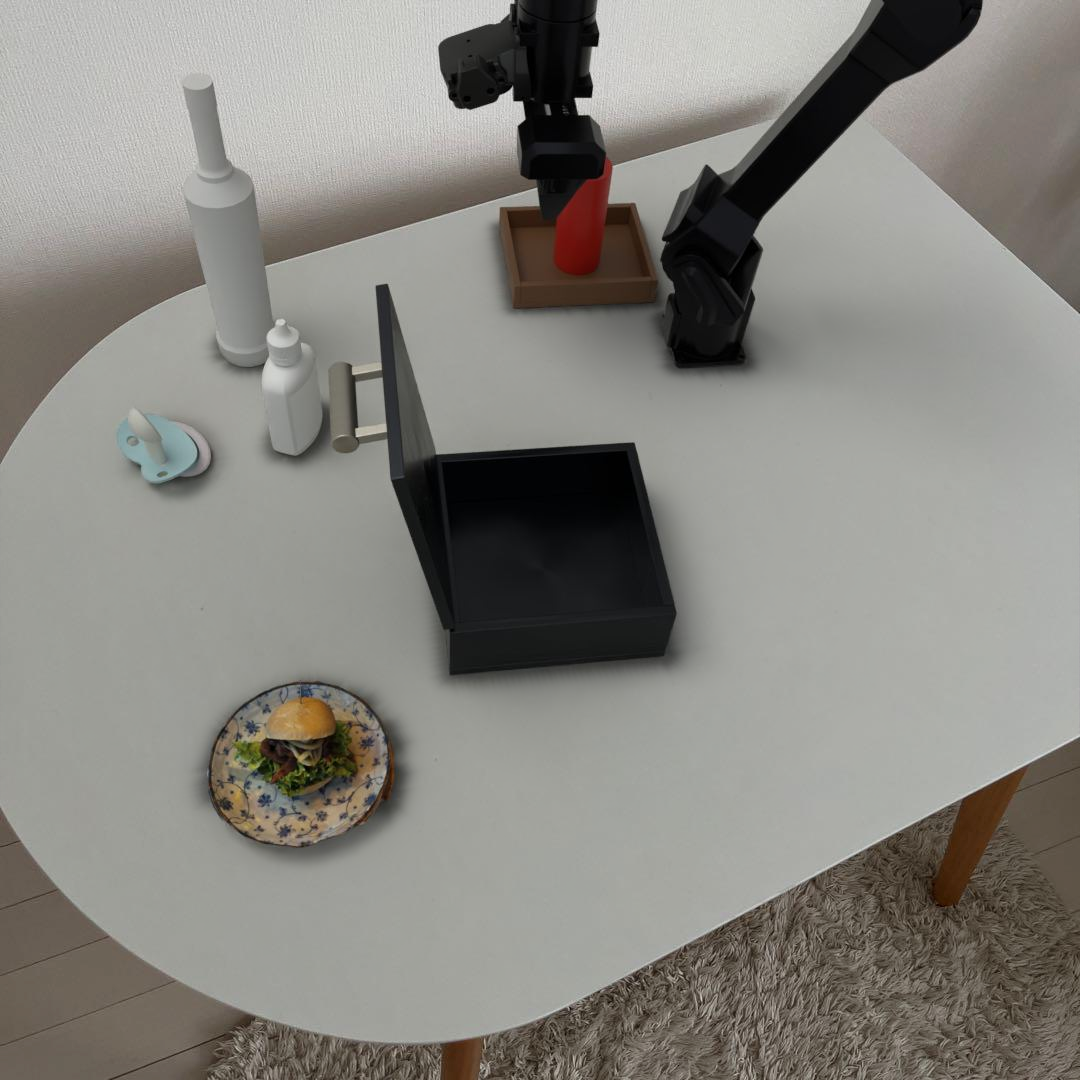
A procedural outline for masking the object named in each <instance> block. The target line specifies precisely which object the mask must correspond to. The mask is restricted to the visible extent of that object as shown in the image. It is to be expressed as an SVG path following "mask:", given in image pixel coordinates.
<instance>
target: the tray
mask: <svg viewBox="0 0 1080 1080" xmlns="http://www.w3.org/2000/svg"><path fill="white" fill-rule="evenodd" d="M556 223H557V218H556V220H555V221H542V219H541V213H540V206H539V205H529V206H526V205H525V206H500V207H499V217H498V233H499V239H500V244H501V249H502V254H503V259H504V265H505V270H506V277H507V281H508V287H509V294H510V298H511V304H512V308H513V309H525V308H526V309H528V308H547V307H548V308H549V307H551V308H552V307H571V306H593V305H614V304H636V303H637V304H638V303H654V302H655V300H656V294H657V289H658V285H659V278H658V275H657V271H656V268H655V265H654V262H653V261H654V260H653V258H652V255H651V250H650V248H649V244H648V241H647V238H646V234H645V231H644V228H643V224H642V221H641V218H640V214H639V210H638V207H637V204H636V202H623V203H621V202H619V203H608V206H607V213H606V220H605V227H604V234H603V241H602V248H601V255H600V263H599V266H598V267H597V269H596V270H594V271H593V272H591V273H589V274H585V275H572V274H568V273H565V272H563V271H562V270H560V269H559V268H558V267H557V266H556V265H555V263H554V261H553V254H554V244H555V234H556Z"/></svg>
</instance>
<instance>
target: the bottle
mask: <svg viewBox="0 0 1080 1080" xmlns="http://www.w3.org/2000/svg"><path fill="white" fill-rule="evenodd" d="M181 85H182V91H183V94H184V99H185V104H186V108H187V110H188V114H189V119H190V124H191V129H192V134H193V139H194V145H195V149H196V153H197V158H198V162H197V163H196V165H195V168H194V169H195V170H194V171H193V172H192V173H190V174H189V175H188V176H187V177H186V178H185V179H184V180H183V184H182V188H181V190H182V194H183V198H184V200H185V206H186V209H187V214H188V218H189V221H190V227H191V229H192V233H193V237H194V241H195V246H196V249H197V253H198V257H199V261H200V265H201V269H202V273H203V277H204V281H205V284H206V285H205V286H206V289H207V293H208V296H209V299H210V300H209V301H210V305H211V309H212V313H213V316H214V320H215V325H216V332H215V338H216V342H217V345H218V348H219V351H220V353H221V355H222V356H223V358H225V360H227V361H228V362H229V363H230V364H232V365H235V366H237V367H241V368H242V367H244V368H252V367H257V366H261V365H263V364H265V363H266V361H267V359H268V357H269V351H268V345H267V339H266V337H267V334H268V332H269V331H270V330H271V329H272V328H274V327H275V325H276V321H274V318H273V312H272V306H271V298H270V291H269V285H268V275H267V269H266V263H265V256H264V249H263V248H264V247H263V241H262V235H261V227H260V221H259V220H260V219H259V214H258V206H257V199H256V191H255V185H254V182H253V179H252V177H251V175H249V174H248V173H247V172H245V170H243V169H241V168H239V167H237V166H234V165H233V163H232V161H230V159H228V158H227V154H226V149H225V144H224V137H223V133H222V127H221V123H220V117H219V111H218V102H217V96H216V91H215V86H214V80H213V77H211V76H210V75H209V74H205V73H204V72H203V73H202V72H193V73H190V74H188V75H185V76H184V77H183V78H182V81H181Z"/></svg>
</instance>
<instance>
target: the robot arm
mask: <svg viewBox="0 0 1080 1080" xmlns="http://www.w3.org/2000/svg"><path fill="white" fill-rule="evenodd" d="M598 1H599V0H513V3H510V4H509V13H508V14H506V16H504V17H503V19H502V20H500V22H497V23H488V24H487V23H486V24H483V25H480V26H478V27H474V28H472V29H469V30H466V31H463V32H460V33H457V34H453V35H451V36H448V37H446V38H444V39H442V41H440V42H439V45H438V47H437V50H438V61H439V70H440V73H441V75H442V78H443V81H444V83H445V86H446V88H447V96H448V99H449V100H450V102H452V104H453V106H454V108H456V109H459V110H467V111H468V110H469V111H472V110H476V109H479V108H482V107H484V106H488V105H491V104H493V103H496V102H497V101H498V100H499V98H500V96H501V95H504V94H506V93H508V92H509V91H511V89H512V93H511V94H512V95H511V96H512V101H513V102H517V103H518V102H521V103H522V107H523V113H524V114H523V115H524V120H523V121H521V122H520V123H519V124H518V125H517V129H516V155H517V161H518V168H519V169H518V170H519V175H520V176H522V177H523V178H524V179H526V180H529V181H535V182H536V189H537V190H536V191H537V198H538V206H540V213H541V219H542V221H555V220H556V218H557V217H558V216H559V214H560V213H561V212H562V210H563V209H564V208H565V207H566V205H567V204H568V203H569V201H570V200H571V199H572V197H573V196H574V195H575V193H576V192H577V191H578V190H579V188H580V187H581V186H582V185H583V184H584V183H585V182H586V181H587V180H588V179H598V178H600V177H601V176H602V175H603V174H604V167H605V159H606V157H607V149H606V146H605V142H604V137H603V133H602V129H601V125H600V124H599V123H598V122H597V121H596V120H595V119H594V118H593V117H592V116H591V115H590V114H579V111H578V107H577V102H576V99H593V91H594V83H593V79H592V75H591V71H590V68H591V61H592V54H593V53H592V52H593V48H599V42H600V35H601V33H600V29H599V26H598V22H597V11H598V9H597V8H598ZM983 6H984V0H870V1H869V3H868V5H867V7H866V9H865V11H864V13H863V15H862V17H861V18H860V20H859V22H858V24H857V25H856V27H855V29H854V30H853V32H852V33H851V34H850V36H849V37H848V38H847V39H846V40H845V41H844V43H842V44H841V46H840V47H839V48H838V49H837V51H835V53H834V54H833V55H832V56H831V58H829V60H828V61H827V62H826V63H825V64H824V65H823V66H822V68H821V69H820V70H819V71H818V72H817V73H816V74H815V76H814V77H813V78H812V79H811V80H810V81H809V82H808V84H807V85H806V86H805V87H804V88H803V89H802V91H801V92H799V94H798V95H797V96H796V97H795V98H794V100H792V102H791V103H790V104H789V105H788V107H786V109H785V110H784V111H782V113H781V114H780V116H779V117H778V118H777V119H776V120H775V121H774V122H773V123H772V124H771V126H770V127H769V128H768V129H767V130H766V131H765V133H763V135H762V136H761V137H760V138H759V140H758V141H757V142H756V143H755V144H754V145H753V146H751V148H750V149H749V151H748V152H747V153H746V154H745V155H744V156H743V157H742V159H741V160H740V161H739V162H738V163H737V164H736V165H735V166H734V167H733V168H731V169H728V170H727V171H723V172H721V173H719V174H718V173H717V172H716V171H715V170H714V169H713V168H711V166H710V165H708V164H706V163H705V164H704V166H703V168H702V169H701V171H700V172H699V174H698V176H697V178H696V180H695V181H694V182H693V183H692V184H691V185H690V186H689V187H687V188H686V189H683V190H681V191H680V192H679V194H678V197H677V199H676V202H675V204H674V206H673V209H672V211H671V214H670V216H669V219H668V222H667V224H666V226H665V229H664V231H663V234H662V237H661V241H662V242H664V246H663V249H662V251H661V253H660V259H659V262H660V263H661V267H662V271H663V272H664V274H665V276H666V277H667V279H669V280H670V281H671V282H672V286H673V290H674V292H670V293H669V294H668V295H667V297H666V298H667V299H666V303H665V307H664V312H663V314H662V317H661V322H662V323H661V331H662V335H663V338H664V342H665V345H666V348H668V349H669V350H670V353H671V356H672V360H673V363H674V365H675V366H676V367H678V368H695V367H709V366H710V367H712V366H714V367H715V366H729V365H730V366H731V365H732V366H733V365H743V364H745V363H746V361H747V355H746V352H745V349H744V345H743V343H744V340H745V337H746V336H745V335H746V332H747V329H748V325H749V322H750V319H751V315H752V312H753V309H754V305H755V302H756V295H755V294H754V291H753V285H754V282H755V278H756V276H757V272H758V269H759V265H760V263H761V259H762V256H763V252H764V247H763V246H762V245H761V243H760V242H759V241H758V239H757V238H756V236H755V235H754V234H755V233H756V230H757V229H758V227H759V226H760V223H761V222H762V220H763V218H764V217H765V216H766V215H767V214H768V212H770V210H772V209H773V208H774V206H775V205H776V204H777V203H778V202H780V200H781V199H783V197H784V196H785V195H786V194H787V193H788V192H789V191H790V189H791V188H793V186H795V184H797V182H798V181H799V180H800V179H801V178H802V177H803V176H804V175H805V174H806V173H807V172H808V171H809V170H810V169H811V168H812V166H813V165H815V163H816V162H818V160H820V158H821V157H822V156H823V155H824V154H825V153H826V152H827V151H828V150H829V149H830V148H831V147H832V146H833V145H834V144H835V143H836V142H837V140H838V139H839V138H840V137H841V136H843V134H844V133H845V132H846V131H847V130H848V129H849V128H850V127H851V126H852V125H853V124H854V123H855V122H856V121H857V119H859V117H861V116H862V114H863V113H865V111H867V109H868V108H869V107H870V106H871V105H872V104H873V103H874V102H875V101H876V100H877V99H878V98H879V97H880V95H881V94H883V93H884V91H886V89H888V88H889V87H890V86H892V85H893V84H896V83H899V82H900V81H902V80H906V79H908V78H911V77H912V76H914V75H917V74H919V73H921V72H924V71H925V70H926V69H928V68H929V67H930V66H932V65H933V64H934V63H936V62H937V61H939V60H940V59H941V58H942V57H944V56H946V55H947V54H949V52H951V51H952V50H954V49H955V48H956V47H957V46H958V45H960V44H961V43H963V42H964V41H965V40H966V39H968V37H969V36H970V34H971V33H972V32H973V30H974V29H975V28H976V26H977V25H978V23H979V21H980V18H981V15H982V10H983Z"/></svg>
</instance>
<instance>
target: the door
mask: <svg viewBox="0 0 1080 1080" xmlns="http://www.w3.org/2000/svg"><path fill="white" fill-rule="evenodd" d="M391 293H392V292H391V290H390V286H389V283H382V284H376V285H375V299H376V313H377V324H378V326H377V327H378V336H379V349H380V361H377V362H372V363H371V362H370V363H365V364H360V365H359V364H358V365H353V364H351V363H349V362H346V361H337V362H334V363H333V364H331V365H330V366H329V368H328V373H327V375H328V394H329V395H328V396H329V420H330V421H329V422H330V423H329V424H330V446H331V448H332V449H333V450H334V451H335V452H337V453H339V454H350V453H351V454H352V453H353V452H355V451H356V450H358V448H359V447H360V445H363V444H368V443H373V442H380V441H386V440H387V451H388V453H387V454H388V463H389V465H388V466H389V478H390V482H391V484H392V488H393V491H394V493H395V496H396V499H397V502H398V505H399V507H400V511H401V513H402V516H403V519H404V522H405V524H406V527H407V529H408V534H409V536H410V538H411V541H412V544H413V547H414V550H415V553H416V556H417V558H418V562H419V565H420V566H421V570H422V572H423V576H424V578H425V582H426V584H427V587H428V589H429V592H430V595H431V598H432V602H433V604H434V607H435V609H436V612H437V616H438V618H439V621H440V623H441V626H442V629H443V631H445V630H448V629H454V628H455V620H454V611H453V602H452V593H451V584H450V574H449V565H448V556H447V547H446V538H445V529H444V520H443V511H442V502H441V493H440V484H439V475H438V466H437V457H436V454H437V450H436V446H435V442H434V439H433V436H432V432H431V429H430V424H429V421H428V418H427V414H426V411H425V408H424V404H423V401H422V396H421V394H420V390H419V387H418V384H417V380H416V377H415V373H414V370H413V366H412V362H411V359H410V356H409V352H408V349H407V346H406V342H405V338H404V334H403V332H402V328H401V324H400V321H399V318H398V313H397V311H396V308H395V304H394V300H393V297H392V294H391ZM380 378H382V388H383V389H382V390H383V401H384V413H385V414H384V415H385V422H383V423H378V424H372V425H371V424H370V425H366V426H360V427H359V417H358V416H359V415H358V399H357V384H356V383H359V382H364V381H370V380H376V379H380Z"/></svg>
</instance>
